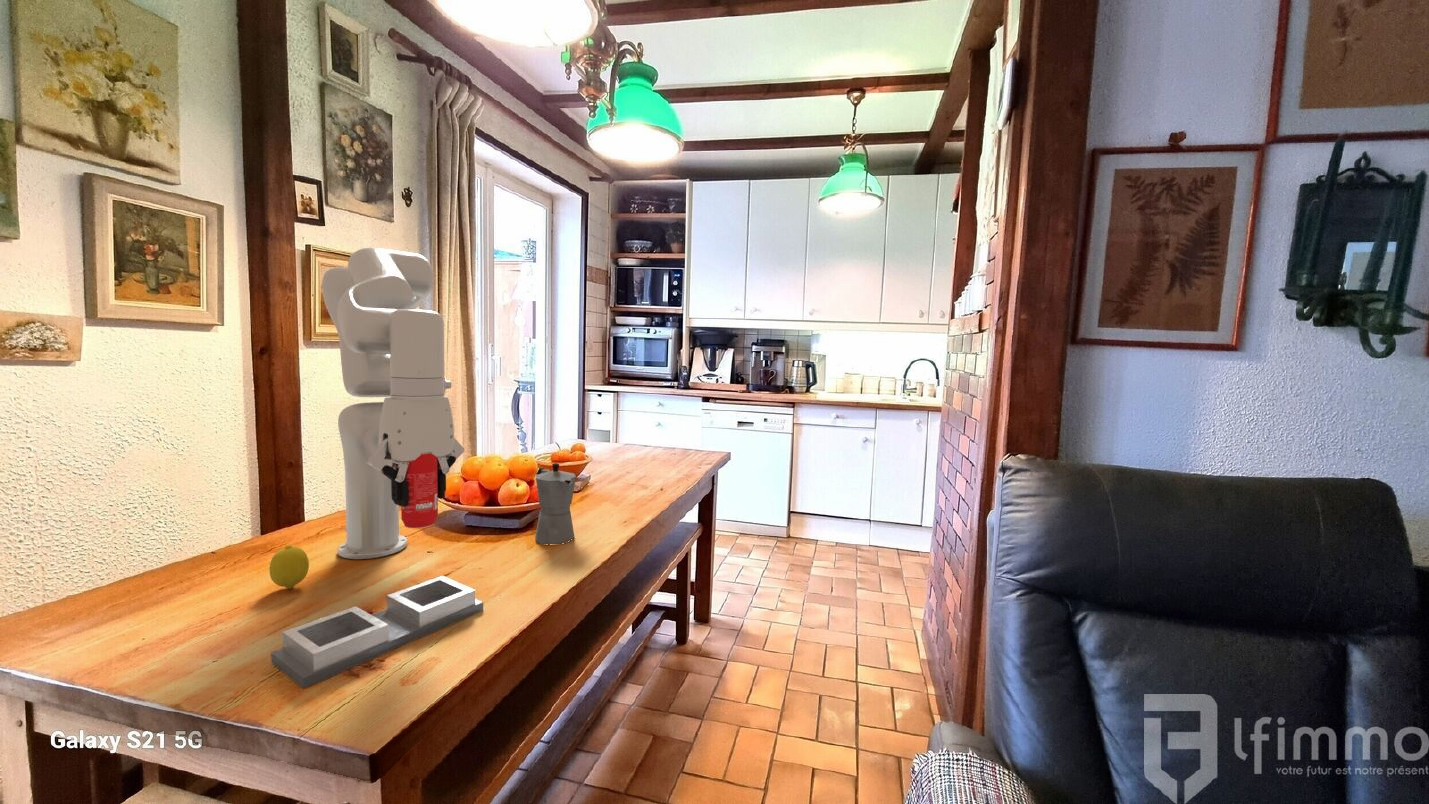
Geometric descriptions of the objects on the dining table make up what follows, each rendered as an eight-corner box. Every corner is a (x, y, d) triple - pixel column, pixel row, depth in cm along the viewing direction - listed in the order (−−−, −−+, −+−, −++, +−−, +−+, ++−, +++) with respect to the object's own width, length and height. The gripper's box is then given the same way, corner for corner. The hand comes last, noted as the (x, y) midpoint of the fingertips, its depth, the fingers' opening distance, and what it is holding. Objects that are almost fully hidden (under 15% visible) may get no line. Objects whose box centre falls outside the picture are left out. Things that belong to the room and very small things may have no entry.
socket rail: (271, 662, 75) (270, 635, 74) (448, 594, 97) (448, 572, 96) (303, 689, 70) (302, 659, 69) (483, 610, 92) (483, 587, 91)
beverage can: (400, 530, 84) (398, 454, 83) (402, 520, 88) (401, 448, 87) (437, 527, 86) (436, 452, 85) (438, 517, 91) (437, 447, 90)
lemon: (316, 586, 98) (314, 543, 97) (281, 598, 93) (279, 553, 92) (298, 579, 100) (297, 537, 99) (263, 591, 95) (261, 547, 94)
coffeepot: (587, 542, 125) (588, 466, 123) (549, 551, 118) (550, 471, 117) (555, 525, 136) (555, 454, 134) (518, 532, 129) (519, 459, 128)
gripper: (455, 385, 94) (456, 487, 96) (346, 389, 80) (350, 508, 82) (481, 388, 90) (481, 494, 92) (371, 392, 76) (374, 518, 78)
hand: (419, 499), depth 87 cm, fingers closed on beverage can, 5 cm apart
